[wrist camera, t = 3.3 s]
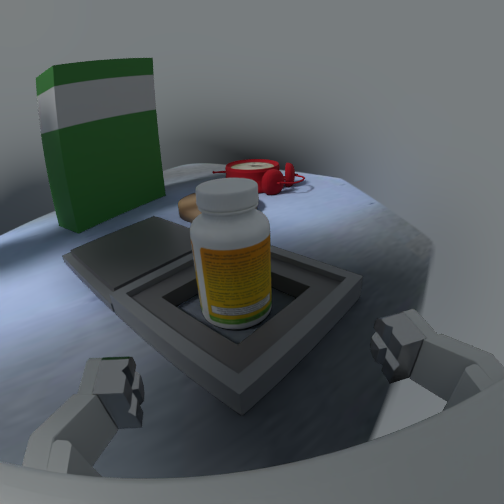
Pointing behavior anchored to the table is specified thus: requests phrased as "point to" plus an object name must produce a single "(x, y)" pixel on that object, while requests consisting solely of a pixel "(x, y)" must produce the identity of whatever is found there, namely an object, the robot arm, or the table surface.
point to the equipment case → (194, 332)
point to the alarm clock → (262, 174)
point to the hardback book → (100, 139)
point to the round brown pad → (189, 208)
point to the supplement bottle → (231, 253)
